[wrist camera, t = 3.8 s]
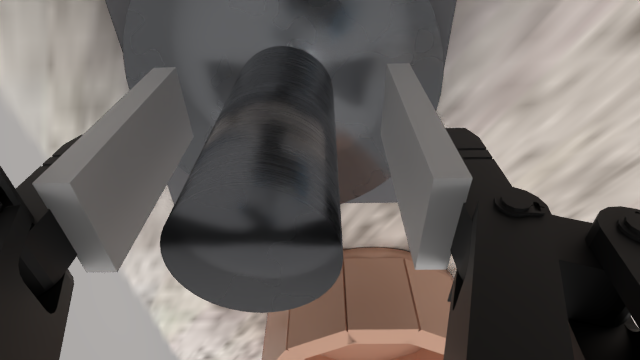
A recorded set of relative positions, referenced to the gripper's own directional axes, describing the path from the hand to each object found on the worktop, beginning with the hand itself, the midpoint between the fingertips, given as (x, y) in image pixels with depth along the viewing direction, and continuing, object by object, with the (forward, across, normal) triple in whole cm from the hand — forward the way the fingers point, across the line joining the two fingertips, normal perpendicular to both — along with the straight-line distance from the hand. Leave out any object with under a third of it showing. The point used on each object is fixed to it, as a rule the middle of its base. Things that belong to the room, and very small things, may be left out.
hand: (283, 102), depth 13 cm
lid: (+1, 0, 0) cm, 1 cm away
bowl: (+2, +4, -16) cm, 17 cm away
